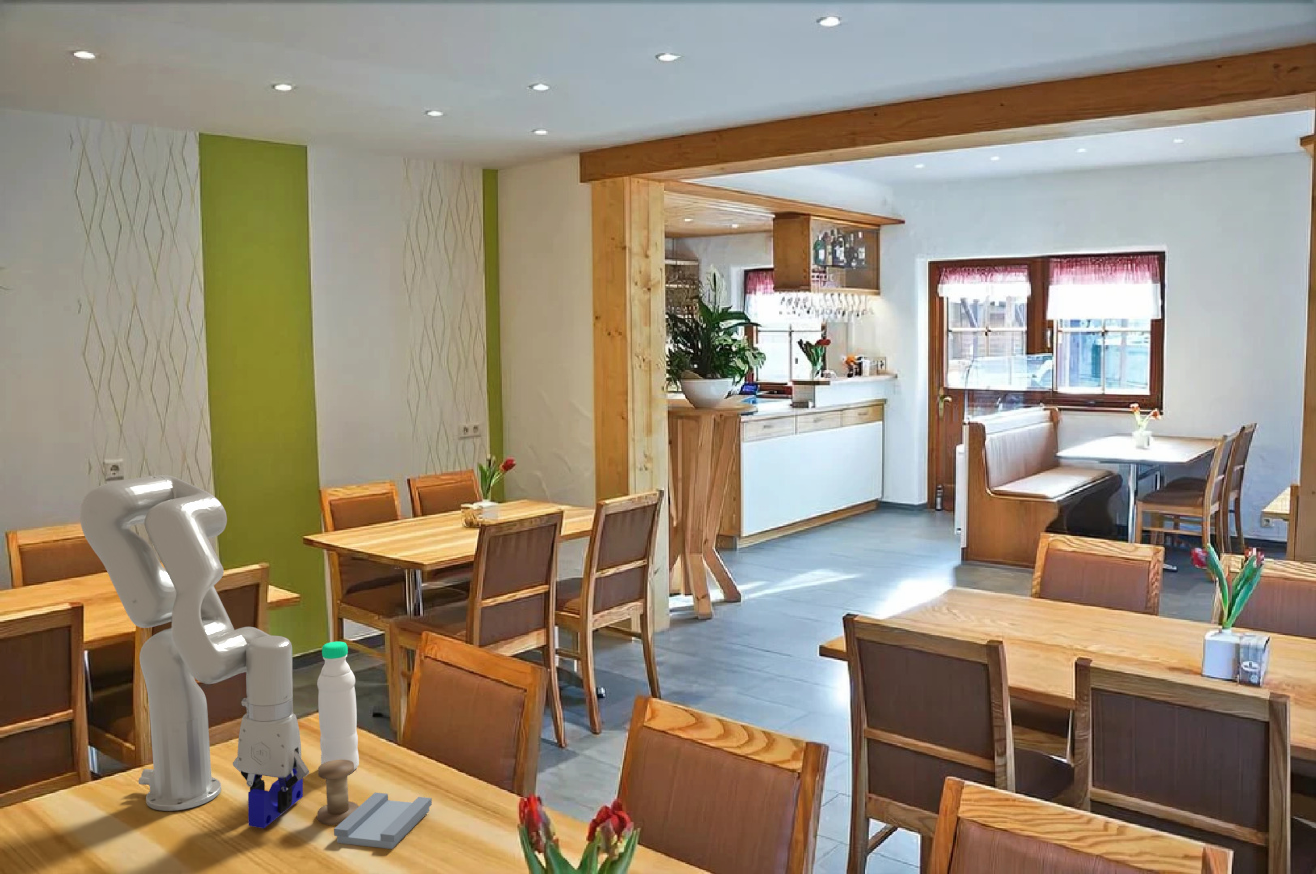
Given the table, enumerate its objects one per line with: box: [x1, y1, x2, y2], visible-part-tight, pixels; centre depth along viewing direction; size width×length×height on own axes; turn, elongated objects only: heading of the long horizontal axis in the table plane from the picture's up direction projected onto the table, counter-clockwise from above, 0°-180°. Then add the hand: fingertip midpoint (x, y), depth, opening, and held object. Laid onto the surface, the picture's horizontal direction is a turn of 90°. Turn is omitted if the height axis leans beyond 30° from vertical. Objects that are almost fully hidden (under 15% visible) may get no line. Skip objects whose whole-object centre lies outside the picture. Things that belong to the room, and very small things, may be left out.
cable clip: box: [247, 768, 304, 829], centre depth 187 cm, size 12×4×6 cm, turn 167°
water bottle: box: [316, 641, 360, 771], centre depth 205 cm, size 7×7×25 cm
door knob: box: [316, 759, 360, 826], centre depth 187 cm, size 7×7×9 cm
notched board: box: [333, 792, 433, 850], centre depth 183 cm, size 11×14×2 cm
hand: (271, 806), depth 187 cm, fingers closed on cable clip, 4 cm apart
